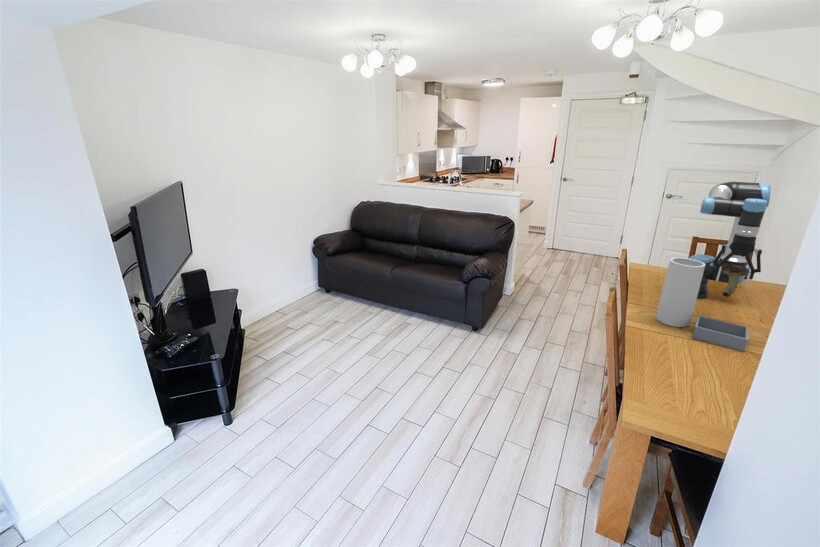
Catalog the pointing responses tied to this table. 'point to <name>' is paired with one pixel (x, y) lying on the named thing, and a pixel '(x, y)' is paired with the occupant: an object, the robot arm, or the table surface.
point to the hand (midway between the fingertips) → (730, 283)
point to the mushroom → (733, 278)
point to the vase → (680, 291)
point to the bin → (721, 333)
